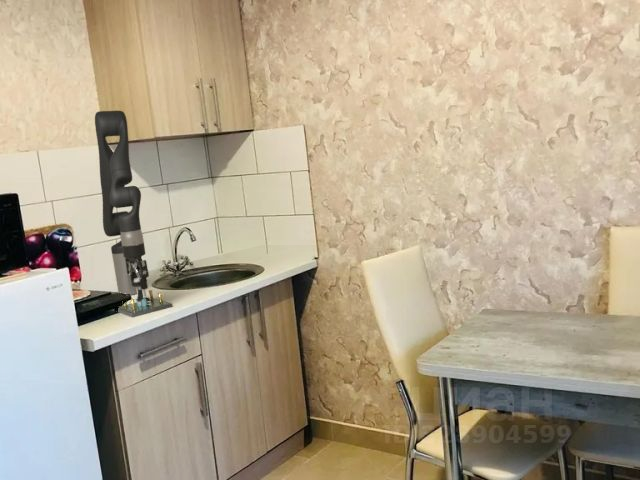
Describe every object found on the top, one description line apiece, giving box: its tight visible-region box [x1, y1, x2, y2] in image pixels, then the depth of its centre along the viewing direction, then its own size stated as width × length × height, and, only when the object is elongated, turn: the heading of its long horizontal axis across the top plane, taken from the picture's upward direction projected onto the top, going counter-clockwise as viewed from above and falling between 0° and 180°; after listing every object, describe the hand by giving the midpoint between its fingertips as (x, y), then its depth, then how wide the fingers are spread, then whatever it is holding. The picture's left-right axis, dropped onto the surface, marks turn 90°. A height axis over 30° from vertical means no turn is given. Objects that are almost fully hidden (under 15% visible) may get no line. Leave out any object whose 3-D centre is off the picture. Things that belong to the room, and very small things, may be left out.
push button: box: [132, 278, 151, 306], centre depth 232 cm, size 7×5×10 cm
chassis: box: [117, 289, 173, 318], centre depth 233 cm, size 16×15×5 cm
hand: (139, 287), depth 232 cm, fingers open, 8 cm apart
